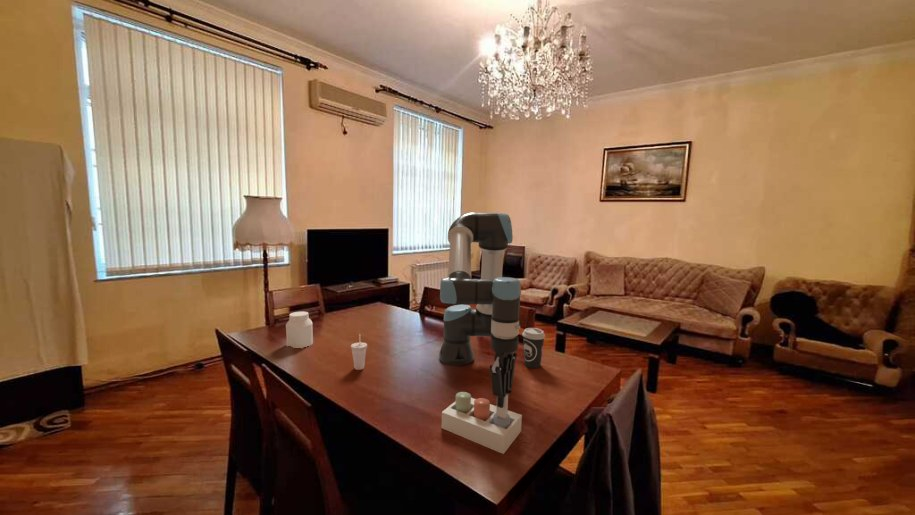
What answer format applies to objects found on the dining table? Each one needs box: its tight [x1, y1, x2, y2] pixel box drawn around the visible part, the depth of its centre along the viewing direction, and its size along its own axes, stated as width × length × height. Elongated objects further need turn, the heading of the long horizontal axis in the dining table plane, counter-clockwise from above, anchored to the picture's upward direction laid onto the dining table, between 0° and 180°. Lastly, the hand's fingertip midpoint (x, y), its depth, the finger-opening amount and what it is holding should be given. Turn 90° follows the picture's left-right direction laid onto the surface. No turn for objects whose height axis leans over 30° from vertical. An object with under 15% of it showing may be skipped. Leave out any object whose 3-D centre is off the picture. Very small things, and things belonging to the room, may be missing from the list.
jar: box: [285, 311, 314, 349], centre depth 165 cm, size 12×10×15 cm
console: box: [441, 397, 523, 455], centre depth 101 cm, size 20×12×5 cm, turn 57°
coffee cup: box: [521, 327, 546, 369], centre depth 146 cm, size 10×10×15 cm
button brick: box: [474, 397, 491, 421], centre depth 101 cm, size 5×5×6 cm
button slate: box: [493, 413, 510, 429], centre depth 98 cm, size 5×5×6 cm
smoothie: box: [350, 333, 368, 371], centre depth 140 cm, size 6×6×14 cm
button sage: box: [455, 391, 472, 414], centre depth 104 cm, size 5×5×6 cm
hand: (501, 415), depth 97 cm, fingers closed
